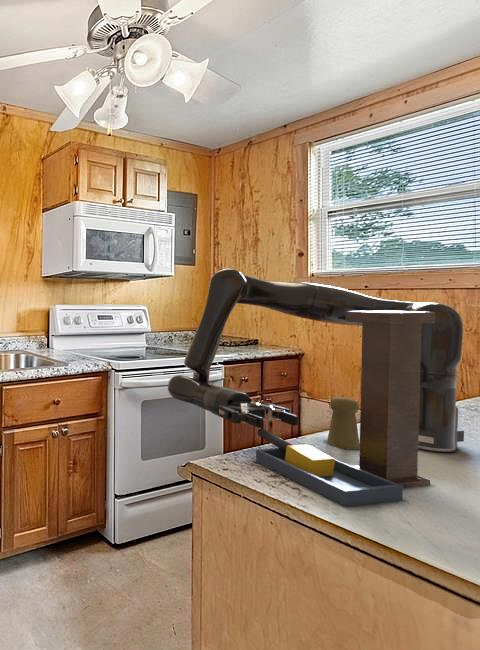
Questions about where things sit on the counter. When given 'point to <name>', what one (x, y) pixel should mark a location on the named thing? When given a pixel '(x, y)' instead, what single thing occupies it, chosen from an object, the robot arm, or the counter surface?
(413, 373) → the wooden pedestal stand
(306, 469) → the sponge brush
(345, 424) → the cork
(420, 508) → the counter surface
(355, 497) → the tray
